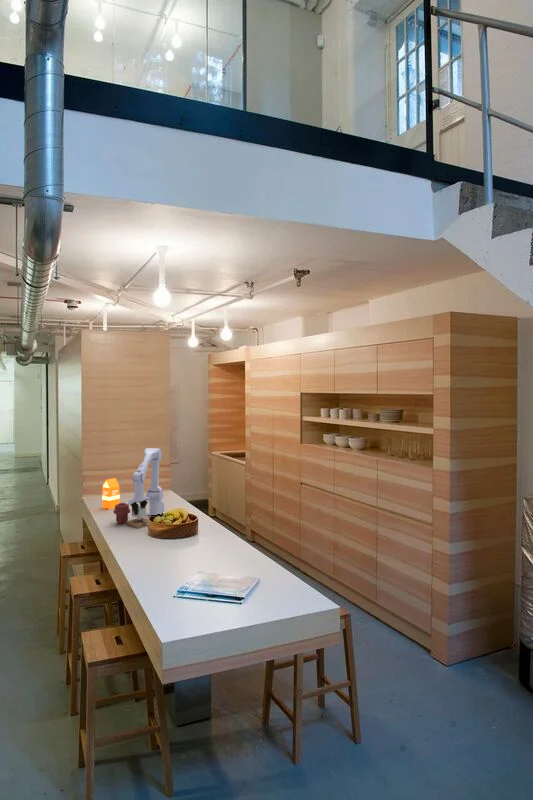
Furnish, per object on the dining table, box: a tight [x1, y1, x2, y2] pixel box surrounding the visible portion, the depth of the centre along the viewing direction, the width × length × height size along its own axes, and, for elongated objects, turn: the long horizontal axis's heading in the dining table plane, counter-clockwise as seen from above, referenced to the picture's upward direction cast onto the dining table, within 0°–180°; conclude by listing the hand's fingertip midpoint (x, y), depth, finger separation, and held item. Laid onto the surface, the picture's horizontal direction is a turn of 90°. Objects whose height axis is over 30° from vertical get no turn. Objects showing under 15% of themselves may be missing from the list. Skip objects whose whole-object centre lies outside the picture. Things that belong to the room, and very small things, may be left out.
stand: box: [125, 517, 149, 529], centre depth 320 cm, size 11×11×2 cm
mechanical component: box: [113, 502, 131, 525], centre depth 324 cm, size 12×10×10 cm
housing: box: [131, 505, 147, 519], centre depth 320 cm, size 8×4×6 cm, turn 52°
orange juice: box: [101, 477, 121, 510], centre depth 364 cm, size 8×9×20 cm
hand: (139, 513), depth 320 cm, fingers closed on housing, 4 cm apart
